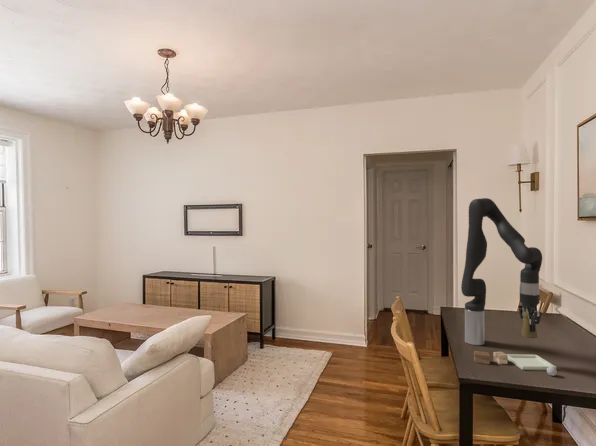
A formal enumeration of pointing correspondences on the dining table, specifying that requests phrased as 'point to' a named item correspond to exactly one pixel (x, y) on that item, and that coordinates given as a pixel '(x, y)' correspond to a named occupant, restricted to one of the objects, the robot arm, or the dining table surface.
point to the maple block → (500, 358)
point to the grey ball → (551, 371)
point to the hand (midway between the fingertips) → (529, 331)
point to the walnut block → (481, 357)
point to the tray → (529, 362)
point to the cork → (528, 327)
